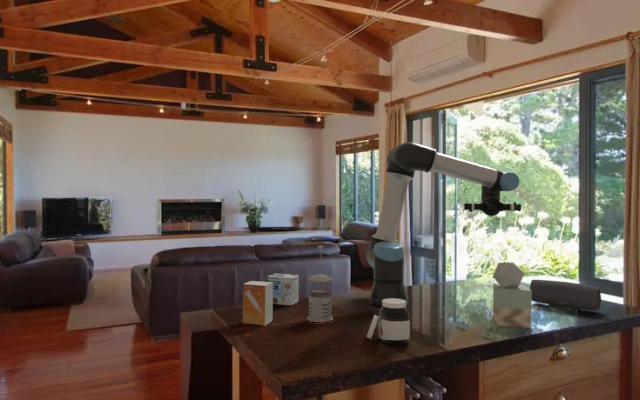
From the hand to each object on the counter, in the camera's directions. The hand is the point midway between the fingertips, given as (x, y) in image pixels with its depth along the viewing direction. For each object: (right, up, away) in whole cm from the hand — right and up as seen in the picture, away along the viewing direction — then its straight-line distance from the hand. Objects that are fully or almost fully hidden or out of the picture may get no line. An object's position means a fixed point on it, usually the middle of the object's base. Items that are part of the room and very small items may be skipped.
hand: (492, 207), depth 167 cm
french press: (-63, -38, -11) cm, 74 cm away
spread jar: (-44, -38, -34) cm, 67 cm away
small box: (-83, -38, -16) cm, 93 cm away
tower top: (+1, -32, -14) cm, 35 cm away
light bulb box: (-77, -38, +13) cm, 87 cm away
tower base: (+1, -38, -14) cm, 41 cm away
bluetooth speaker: (+29, -38, +7) cm, 49 cm away
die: (0, -26, -14) cm, 30 cm away
